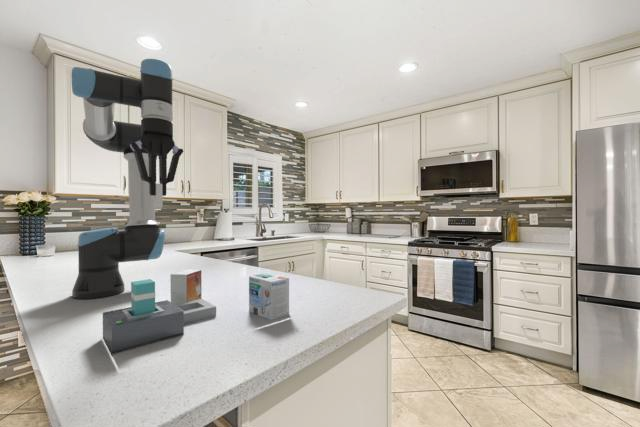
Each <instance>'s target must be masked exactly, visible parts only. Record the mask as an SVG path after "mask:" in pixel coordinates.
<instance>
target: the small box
mask: <svg viewBox="0 0 640 427" xmlns="http://www.w3.org/2000/svg"><path fill="white" fill-rule="evenodd" d="M199 299H202V269H189V268H188V269H184V270H181V271H178V272H174V273H171V274H170V302H171V303H173V304H174V305H175V304H179V303H184V302H189V301H194V300H199Z"/></svg>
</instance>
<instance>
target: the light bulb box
mask: <svg viewBox="0 0 640 427" xmlns="http://www.w3.org/2000/svg"><path fill="white" fill-rule="evenodd" d="M248 312H250V313H252V314H255V315H257V316H259V317H261V318H265V319H266V320H271V321H272V320H275V319H279V318H282V317H284V316H287V315H290V277H287V276H281V275H278V274H274V273H268V272H265V273H261V274H254V275H249V276H248Z"/></svg>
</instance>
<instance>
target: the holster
mask: <svg viewBox="0 0 640 427" xmlns="http://www.w3.org/2000/svg"><path fill="white" fill-rule="evenodd" d="M175 306H177V307H178V308H180V309H181V310H183V311H184V325H185V324H188V323H192V322H197V321H201V320H205V319H208V318H212V317H216V316H217V306H216V305H214V304H212V303H210V302H209V301H206V300H205V299H202V298H201V299H199V300H194V301H189V302H184V303H179V304H175Z"/></svg>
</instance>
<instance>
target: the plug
mask: <svg viewBox="0 0 640 427" xmlns="http://www.w3.org/2000/svg"><path fill="white" fill-rule="evenodd" d="M130 284H131V285H130V286H131V288H130V289H131V292H130V298H131V300H130V301H131V304H130V305H131V306H130V307H131V309H132V316H137V315H141V314H146V313H151V312H155V302H156V282H155V281H154V280H153V279H150V278H149V279H143V280H136V281H135V280H134V281H130Z"/></svg>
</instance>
